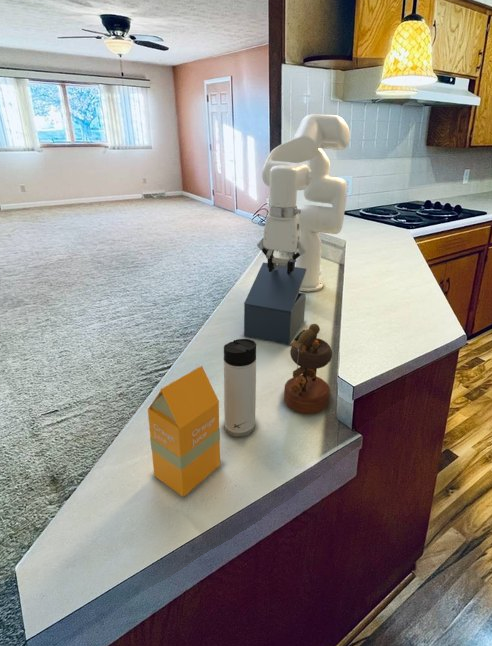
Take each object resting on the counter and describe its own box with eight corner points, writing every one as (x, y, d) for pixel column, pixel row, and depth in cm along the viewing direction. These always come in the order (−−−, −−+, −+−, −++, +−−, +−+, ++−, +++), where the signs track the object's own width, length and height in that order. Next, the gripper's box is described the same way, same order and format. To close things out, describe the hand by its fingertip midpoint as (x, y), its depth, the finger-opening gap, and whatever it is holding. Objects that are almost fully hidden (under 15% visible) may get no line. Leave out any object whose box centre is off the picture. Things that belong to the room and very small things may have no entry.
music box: (320, 424, 87) (320, 341, 80) (273, 414, 91) (269, 333, 84) (340, 385, 101) (341, 311, 94) (298, 377, 104) (296, 305, 97)
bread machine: (263, 314, 135) (263, 286, 131) (303, 321, 132) (305, 293, 128) (244, 336, 121) (244, 305, 117) (289, 345, 118) (290, 313, 114)
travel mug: (240, 443, 81) (241, 355, 73) (218, 427, 85) (216, 343, 77) (262, 426, 86) (264, 343, 78) (240, 412, 89) (240, 331, 82)
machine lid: (263, 264, 128) (260, 250, 123) (306, 270, 124) (305, 257, 120) (244, 305, 117) (240, 292, 113) (291, 313, 114) (289, 300, 110)
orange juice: (153, 475, 72) (143, 380, 65) (191, 446, 79) (187, 357, 72) (183, 498, 69) (177, 399, 61) (221, 465, 75) (219, 373, 68)
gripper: (315, 212, 117) (311, 271, 124) (258, 205, 120) (258, 263, 128) (308, 217, 110) (304, 280, 117) (249, 210, 114) (249, 271, 121)
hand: (280, 271), depth 122 cm, fingers closed on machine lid, 5 cm apart
